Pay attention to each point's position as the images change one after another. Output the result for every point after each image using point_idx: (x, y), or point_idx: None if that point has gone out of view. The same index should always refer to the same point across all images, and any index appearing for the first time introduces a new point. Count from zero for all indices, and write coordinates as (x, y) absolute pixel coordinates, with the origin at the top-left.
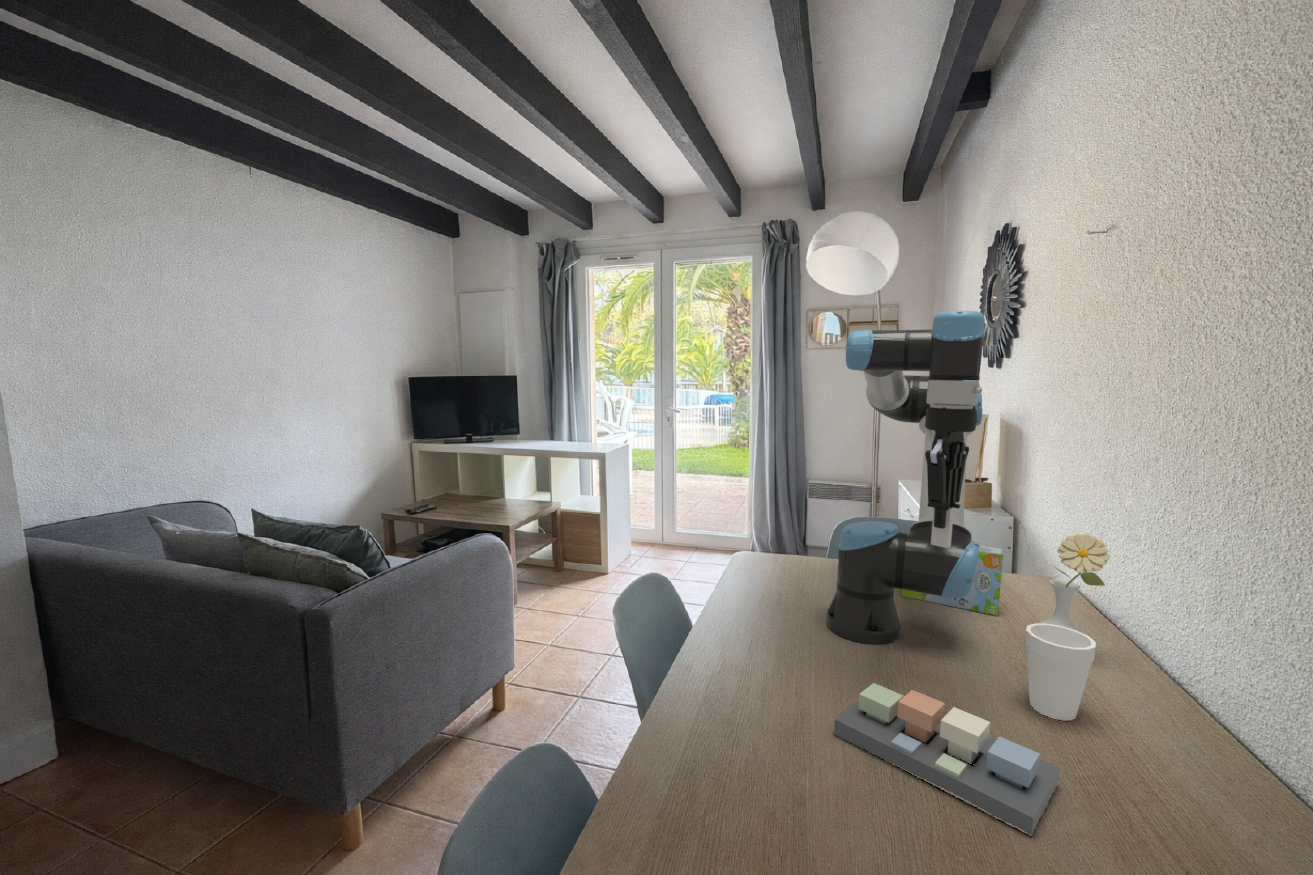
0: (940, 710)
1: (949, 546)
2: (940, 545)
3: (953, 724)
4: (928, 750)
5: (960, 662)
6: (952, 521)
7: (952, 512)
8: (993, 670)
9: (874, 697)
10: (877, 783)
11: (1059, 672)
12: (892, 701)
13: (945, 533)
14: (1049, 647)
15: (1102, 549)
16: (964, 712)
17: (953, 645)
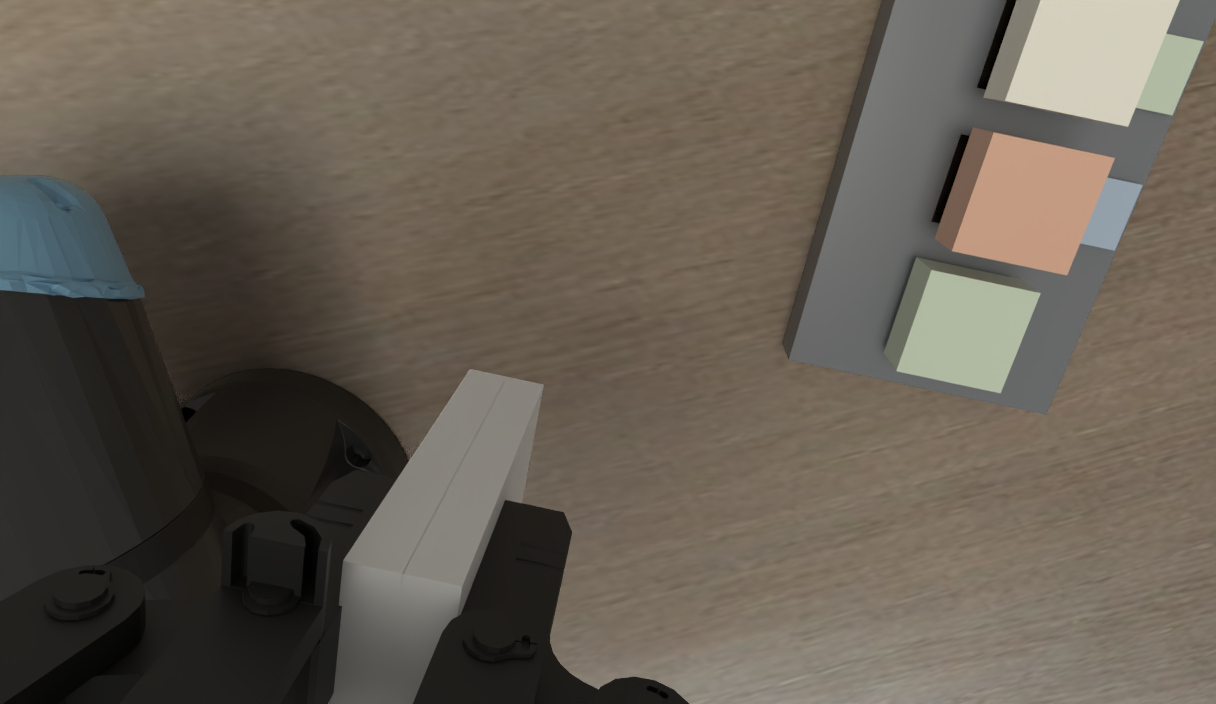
0: (1032, 140)
1: (498, 377)
2: (533, 439)
3: (1136, 83)
4: (1081, 145)
5: (306, 147)
6: (404, 477)
7: (397, 543)
8: (282, 30)
9: (999, 347)
10: (1201, 243)
11: None
12: (992, 293)
13: (516, 463)
14: None
15: None
16: (1028, 60)
17: (181, 189)
